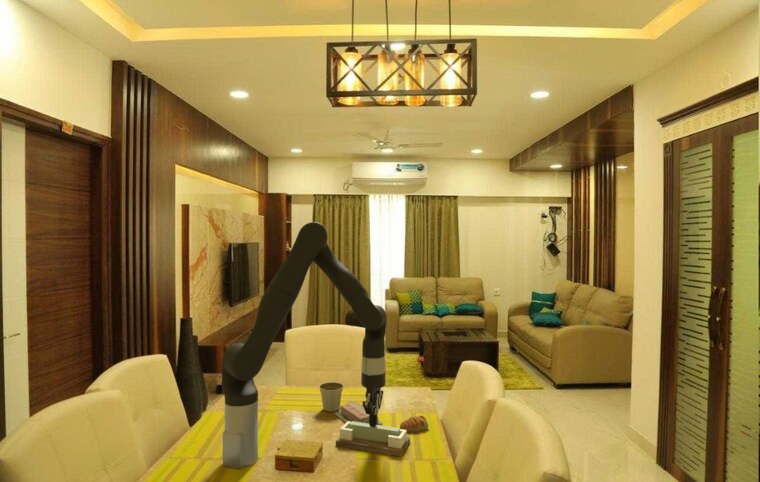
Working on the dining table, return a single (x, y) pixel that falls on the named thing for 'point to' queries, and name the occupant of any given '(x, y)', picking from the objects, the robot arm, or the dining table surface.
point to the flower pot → (331, 395)
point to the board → (372, 446)
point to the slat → (373, 431)
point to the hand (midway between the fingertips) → (373, 425)
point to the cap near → (397, 439)
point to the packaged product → (354, 413)
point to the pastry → (414, 424)
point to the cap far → (346, 432)
